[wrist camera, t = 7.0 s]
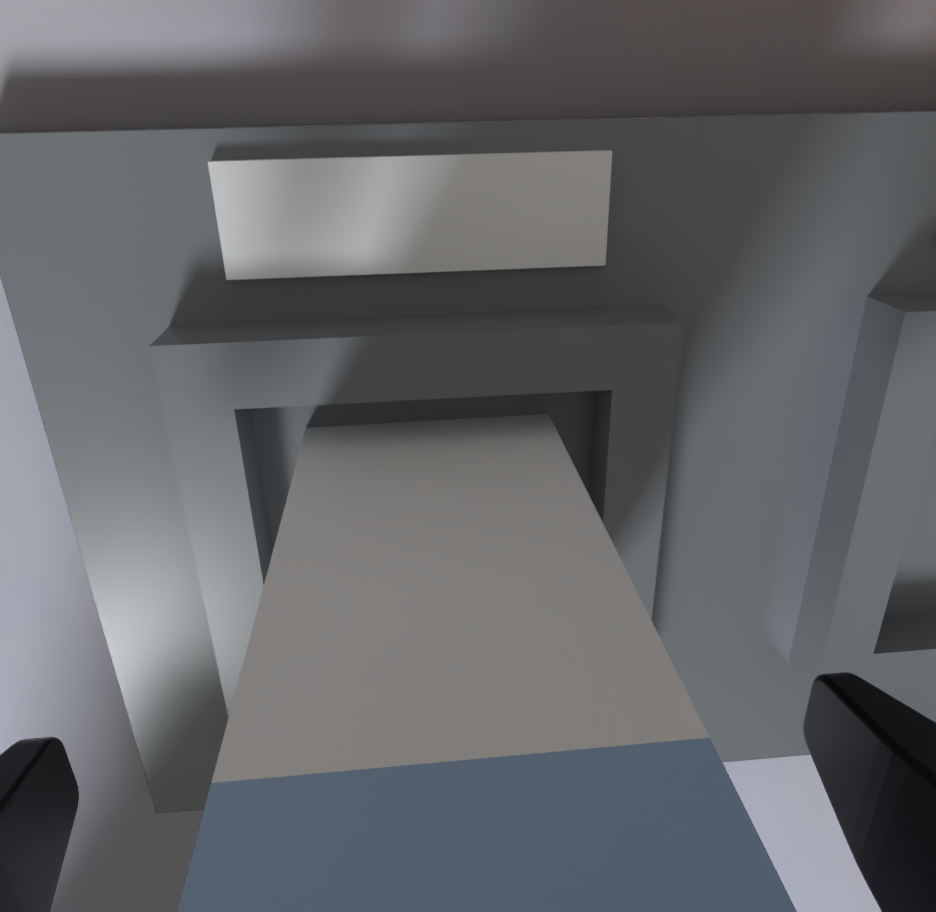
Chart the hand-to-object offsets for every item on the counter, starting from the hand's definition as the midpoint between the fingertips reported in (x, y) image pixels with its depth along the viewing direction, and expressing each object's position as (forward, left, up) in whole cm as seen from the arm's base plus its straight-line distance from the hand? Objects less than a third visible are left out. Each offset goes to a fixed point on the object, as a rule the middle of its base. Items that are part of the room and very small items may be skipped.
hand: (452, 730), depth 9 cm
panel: (-5, 0, -6) cm, 8 cm away
